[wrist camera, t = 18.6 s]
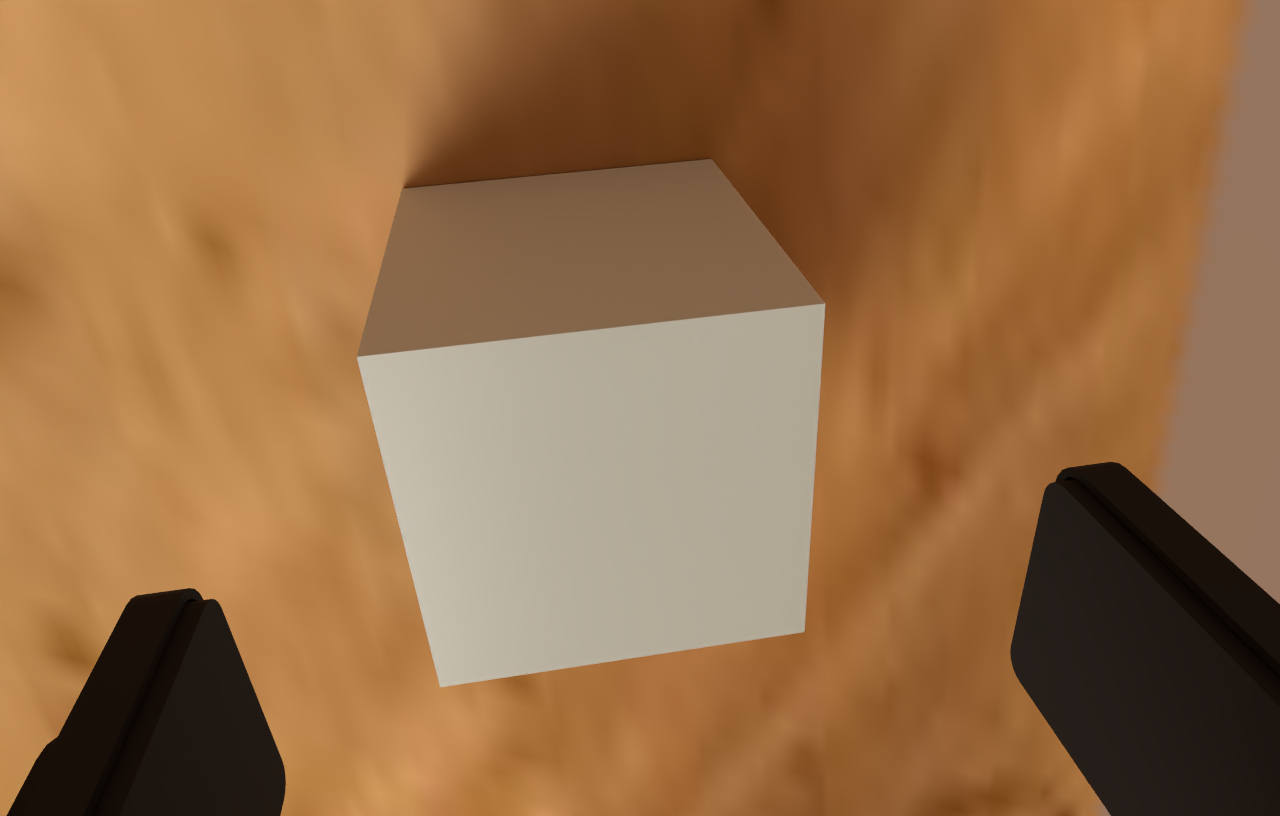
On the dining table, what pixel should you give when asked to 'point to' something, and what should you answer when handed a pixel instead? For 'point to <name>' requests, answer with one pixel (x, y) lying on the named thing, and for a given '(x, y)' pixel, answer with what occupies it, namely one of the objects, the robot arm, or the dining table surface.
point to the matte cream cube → (594, 416)
